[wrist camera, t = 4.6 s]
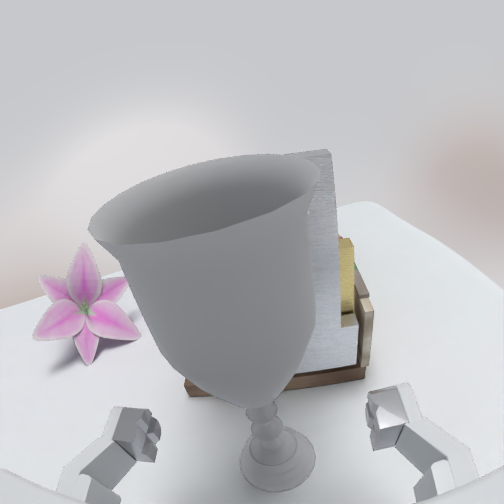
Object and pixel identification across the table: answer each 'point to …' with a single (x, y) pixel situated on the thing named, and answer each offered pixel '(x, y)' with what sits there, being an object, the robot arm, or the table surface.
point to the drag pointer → (346, 275)
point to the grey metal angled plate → (327, 277)
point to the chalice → (227, 287)
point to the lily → (84, 307)
